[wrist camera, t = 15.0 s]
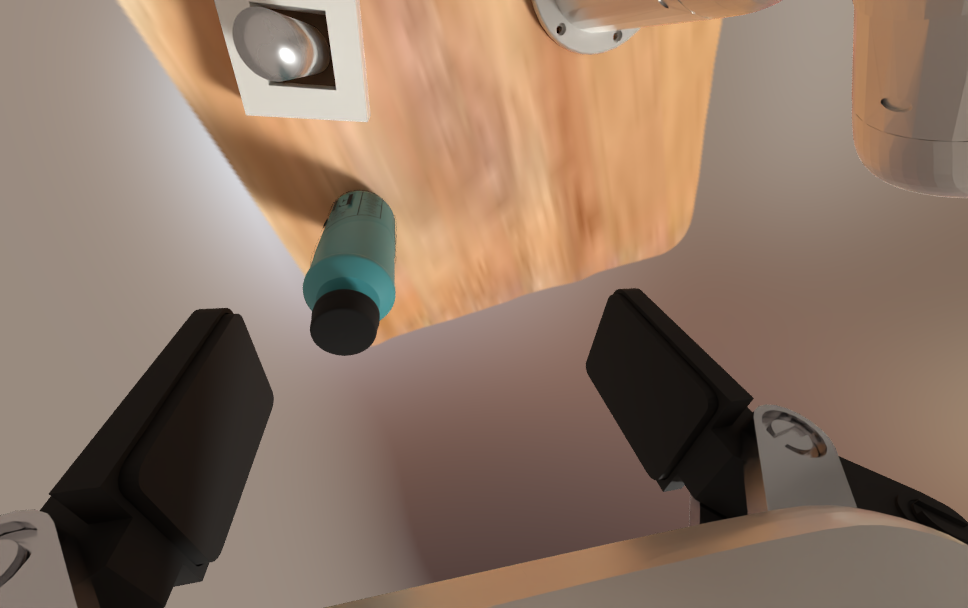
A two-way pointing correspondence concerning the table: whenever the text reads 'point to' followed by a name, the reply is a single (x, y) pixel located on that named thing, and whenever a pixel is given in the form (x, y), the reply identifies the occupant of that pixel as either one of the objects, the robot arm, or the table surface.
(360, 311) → the beverage bottle
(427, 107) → the table surface
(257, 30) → the steel peg
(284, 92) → the block
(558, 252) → the table surface
